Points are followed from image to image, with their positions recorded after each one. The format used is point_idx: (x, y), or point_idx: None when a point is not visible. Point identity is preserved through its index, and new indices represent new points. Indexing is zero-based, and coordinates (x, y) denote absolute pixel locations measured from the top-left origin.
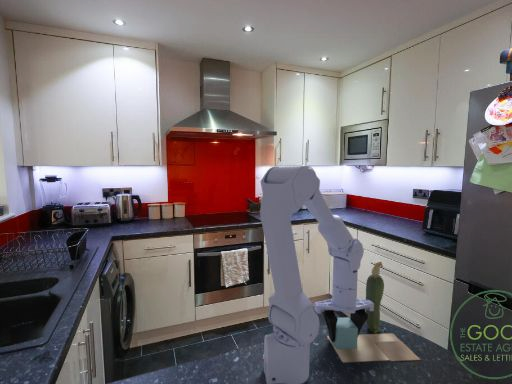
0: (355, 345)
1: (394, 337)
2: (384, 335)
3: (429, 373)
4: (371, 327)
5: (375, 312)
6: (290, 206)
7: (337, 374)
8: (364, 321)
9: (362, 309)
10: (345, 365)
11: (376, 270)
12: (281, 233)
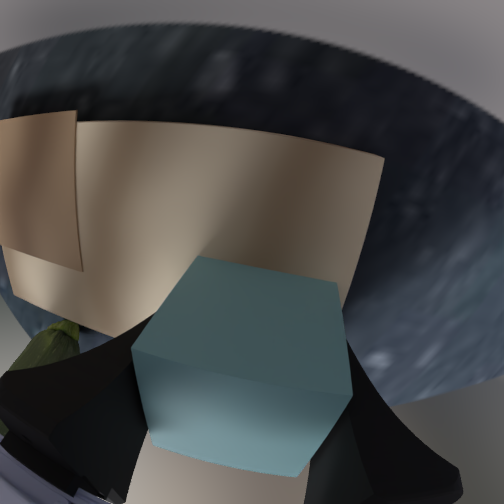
0: (203, 267)
1: (13, 271)
2: (37, 295)
3: (10, 75)
4: (63, 347)
5: None
6: None
7: (433, 119)
8: (45, 370)
9: (19, 460)
10: None
11: None
12: None
